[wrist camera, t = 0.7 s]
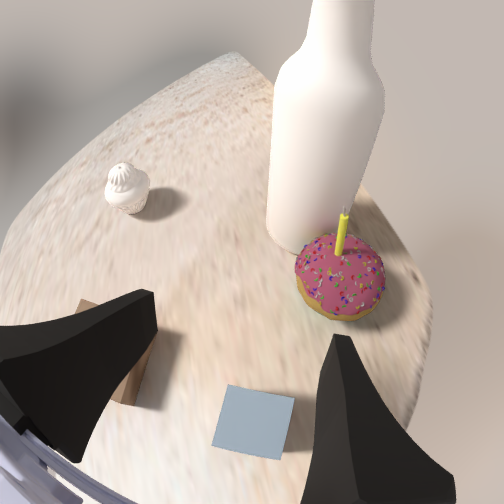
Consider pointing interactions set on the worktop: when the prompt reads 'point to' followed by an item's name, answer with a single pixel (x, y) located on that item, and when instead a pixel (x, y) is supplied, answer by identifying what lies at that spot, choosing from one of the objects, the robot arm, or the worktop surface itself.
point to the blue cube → (253, 422)
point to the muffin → (127, 188)
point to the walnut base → (132, 381)
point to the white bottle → (323, 124)
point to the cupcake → (340, 275)
